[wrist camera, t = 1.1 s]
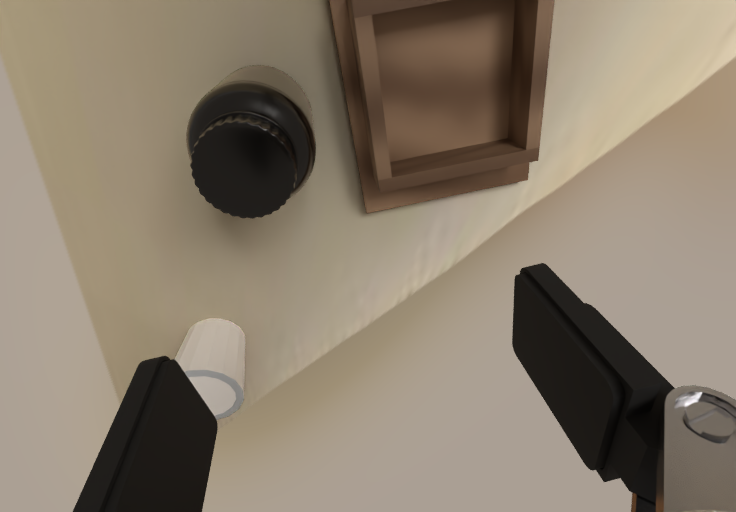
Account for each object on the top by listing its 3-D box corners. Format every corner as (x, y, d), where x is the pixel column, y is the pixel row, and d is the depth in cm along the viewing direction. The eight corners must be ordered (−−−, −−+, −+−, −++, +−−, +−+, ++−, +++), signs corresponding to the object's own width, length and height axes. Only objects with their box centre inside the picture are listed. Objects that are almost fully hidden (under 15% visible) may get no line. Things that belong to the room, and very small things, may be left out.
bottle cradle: (318, -59, 23) (321, -70, 20) (543, -100, 24) (583, -116, 20) (365, 207, 33) (372, 230, 30) (522, 175, 34) (546, 194, 30)
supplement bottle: (332, 116, 29) (349, 176, 19) (270, 178, 30) (255, 262, 21) (258, 37, 25) (231, 60, 15) (193, 112, 27) (132, 175, 17)
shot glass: (265, 330, 39) (259, 387, 33) (230, 371, 41) (219, 430, 36) (200, 302, 36) (181, 359, 30) (166, 347, 38) (143, 408, 32)
